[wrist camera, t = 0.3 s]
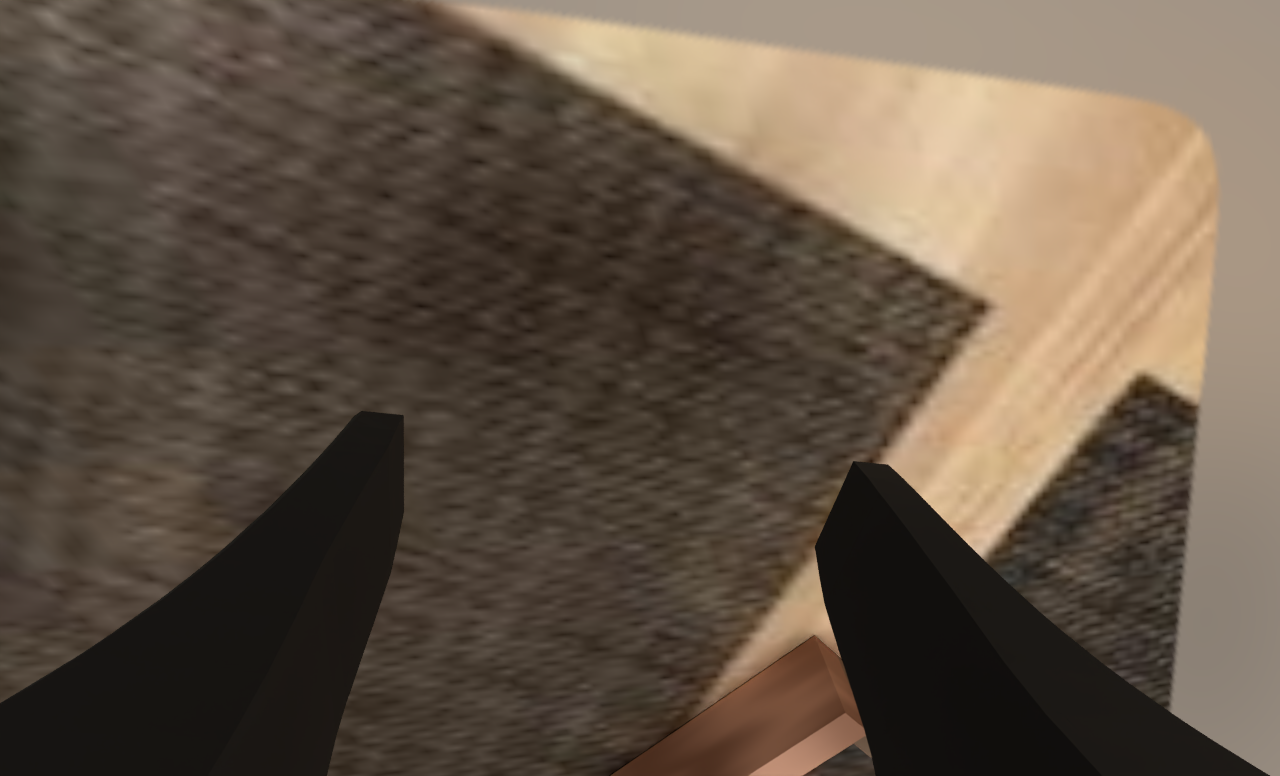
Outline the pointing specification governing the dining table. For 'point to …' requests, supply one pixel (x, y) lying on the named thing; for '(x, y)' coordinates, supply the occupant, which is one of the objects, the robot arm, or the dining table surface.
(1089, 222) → the dining table surface
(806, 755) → the channel
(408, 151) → the dining table surface
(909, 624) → the robot arm
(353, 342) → the dining table surface
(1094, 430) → the dining table surface
